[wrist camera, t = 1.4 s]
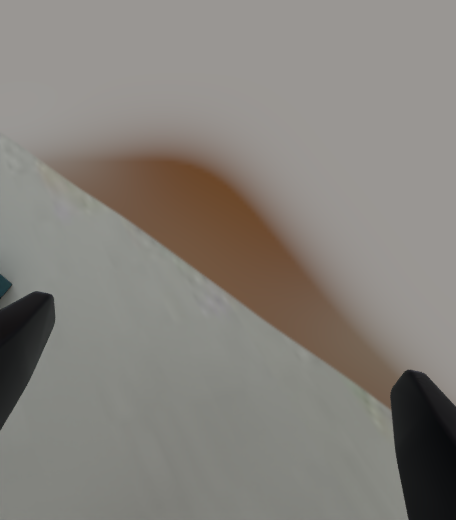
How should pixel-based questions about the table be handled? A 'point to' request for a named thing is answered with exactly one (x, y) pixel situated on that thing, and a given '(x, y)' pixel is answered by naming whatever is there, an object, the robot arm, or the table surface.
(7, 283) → the teal square frame
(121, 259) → the table surface
